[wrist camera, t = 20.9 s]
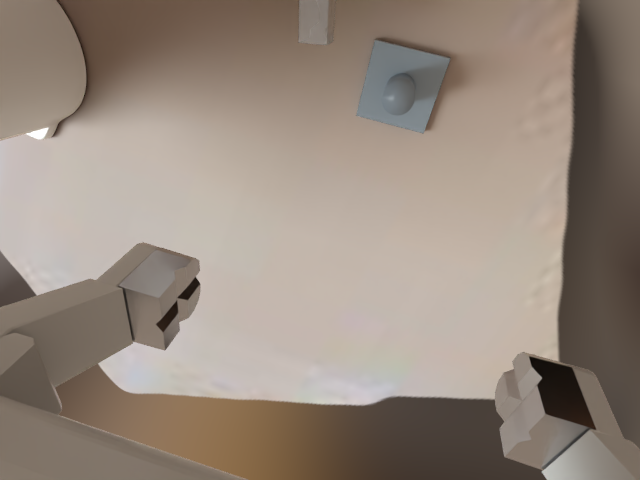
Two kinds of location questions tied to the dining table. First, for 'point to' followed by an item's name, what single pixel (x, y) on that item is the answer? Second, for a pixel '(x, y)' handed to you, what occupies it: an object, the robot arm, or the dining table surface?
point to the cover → (401, 85)
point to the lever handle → (316, 21)
